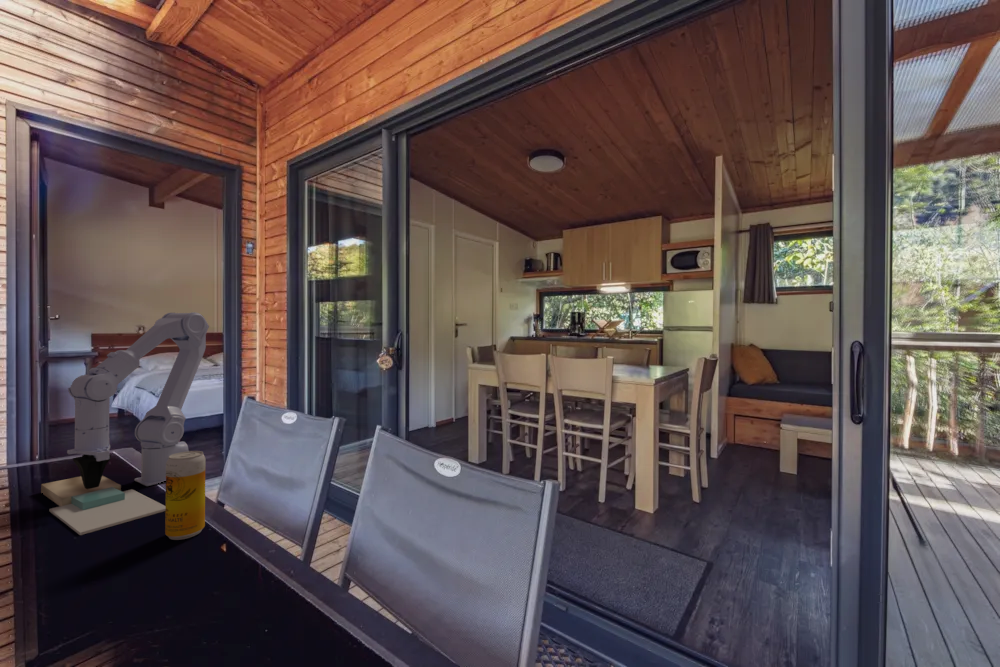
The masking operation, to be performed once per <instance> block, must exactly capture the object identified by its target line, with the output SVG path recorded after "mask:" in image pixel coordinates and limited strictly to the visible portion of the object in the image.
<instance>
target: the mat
mask: <svg viewBox="0 0 1000 667" xmlns="http://www.w3.org/2000/svg"><path fill="white" fill-rule="evenodd" d="M122 492H124V493H125V500H121V501H117V502H113V503H109V504H105V505H101V506H98V507H94V508H90V509H86V510H82V509H80V508H78V507H77V506H75V505H73V504H68V505H64V506H56V507H52V508H49V511H48V512H50V513H51V514H52V516H54V517H56V518H57V519H59V520H60V521H61V522H62V523H64V524H65V525H66V526H68V528H70V529H71V530H72V531H74V532H75V533H76V534H78V535H79V536H83V535H85V534H90V533H94V532H97V531H100V530H103V529H106V528H110V527H114V526H117V525H121V524H125V523H127V522H132V521H134V520H135V521H136V520H138V519H142V518H146V517H149V516H153V515H157V514H160V513H163V512H165V510H166V505H164V504H162V503H160V502H159V501H157V500H154V499H153V498H150V497H148V496H146V495H144V494H143V493H140V492H138V491H136V490H135V489H133V488H131V489H128V490H124V491H122Z"/></svg>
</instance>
